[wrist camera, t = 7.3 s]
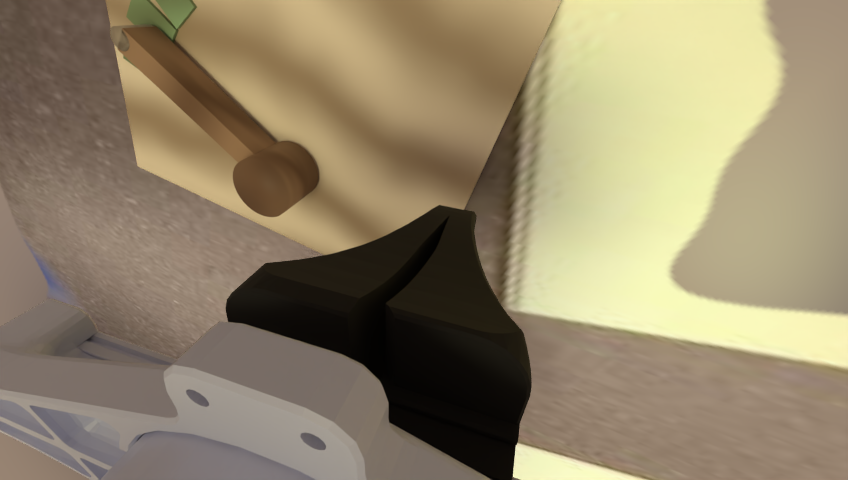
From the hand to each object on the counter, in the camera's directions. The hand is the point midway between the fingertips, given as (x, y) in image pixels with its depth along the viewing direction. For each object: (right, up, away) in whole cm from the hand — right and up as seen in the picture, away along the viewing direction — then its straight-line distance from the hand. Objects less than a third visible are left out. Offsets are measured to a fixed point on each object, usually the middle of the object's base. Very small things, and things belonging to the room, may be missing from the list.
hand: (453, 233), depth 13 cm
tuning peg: (-13, +8, +10) cm, 18 cm away
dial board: (-8, +9, +9) cm, 15 cm away
